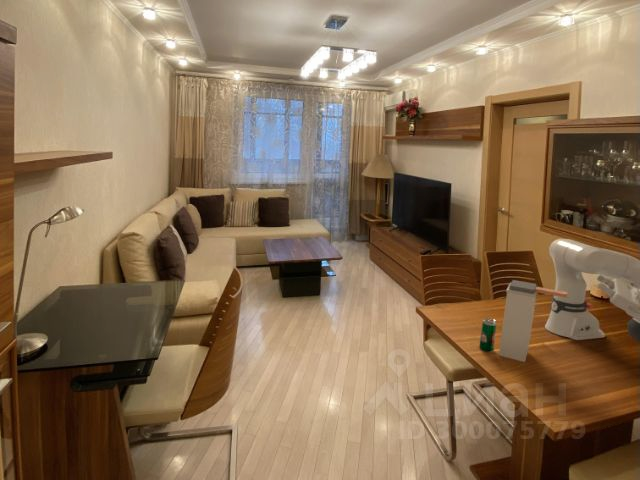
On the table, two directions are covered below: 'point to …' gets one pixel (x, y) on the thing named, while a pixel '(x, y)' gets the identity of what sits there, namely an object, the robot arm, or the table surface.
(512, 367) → the table surface
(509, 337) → the tall grey box
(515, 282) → the toy hammer
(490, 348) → the soda can
